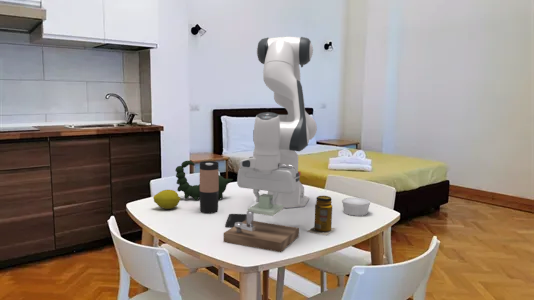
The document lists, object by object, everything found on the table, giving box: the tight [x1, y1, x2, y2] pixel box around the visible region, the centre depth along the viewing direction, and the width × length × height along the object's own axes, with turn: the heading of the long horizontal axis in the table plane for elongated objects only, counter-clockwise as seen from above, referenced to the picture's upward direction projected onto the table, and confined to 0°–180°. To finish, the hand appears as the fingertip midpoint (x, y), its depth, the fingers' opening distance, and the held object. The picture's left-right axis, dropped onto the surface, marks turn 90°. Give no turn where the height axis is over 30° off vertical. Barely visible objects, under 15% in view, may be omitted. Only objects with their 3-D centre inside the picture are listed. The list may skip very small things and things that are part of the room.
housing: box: [223, 220, 300, 253], centre depth 138 cm, size 16×20×4 cm
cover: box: [247, 193, 284, 217], centre depth 139 cm, size 9×9×5 cm
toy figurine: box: [174, 160, 234, 201], centre depth 188 cm, size 9×19×25 cm
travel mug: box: [199, 160, 220, 215], centre depth 168 cm, size 8×8×20 cm
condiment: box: [307, 195, 336, 236], centre depth 147 cm, size 7×8×12 cm
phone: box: [224, 213, 247, 229], centre depth 157 cm, size 8×1×15 cm
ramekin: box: [341, 197, 371, 217], centre depth 171 cm, size 11×11×5 cm
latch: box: [235, 210, 255, 231], centre depth 134 cm, size 7×3×6 cm, turn 54°
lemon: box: [153, 189, 182, 210], centre depth 171 cm, size 11×8×8 cm
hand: (266, 203), depth 139 cm, fingers closed on cover, 3 cm apart
